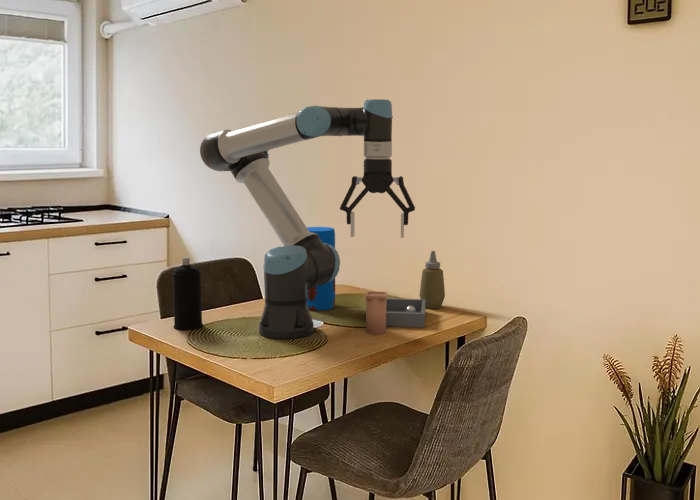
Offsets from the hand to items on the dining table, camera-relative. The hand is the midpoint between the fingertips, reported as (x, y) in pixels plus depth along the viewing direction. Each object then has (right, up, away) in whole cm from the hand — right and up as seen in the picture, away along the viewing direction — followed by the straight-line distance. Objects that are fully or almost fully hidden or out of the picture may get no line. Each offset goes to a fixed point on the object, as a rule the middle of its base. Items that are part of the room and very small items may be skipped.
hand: (377, 236), depth 197 cm
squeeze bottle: (+19, -22, +33) cm, 44 cm away
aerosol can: (-54, -26, +10) cm, 60 cm away
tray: (+7, -24, +18) cm, 31 cm away
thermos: (-18, -22, +33) cm, 44 cm away
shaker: (0, -26, +4) cm, 27 cm away
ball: (+11, -22, +19) cm, 31 cm away
